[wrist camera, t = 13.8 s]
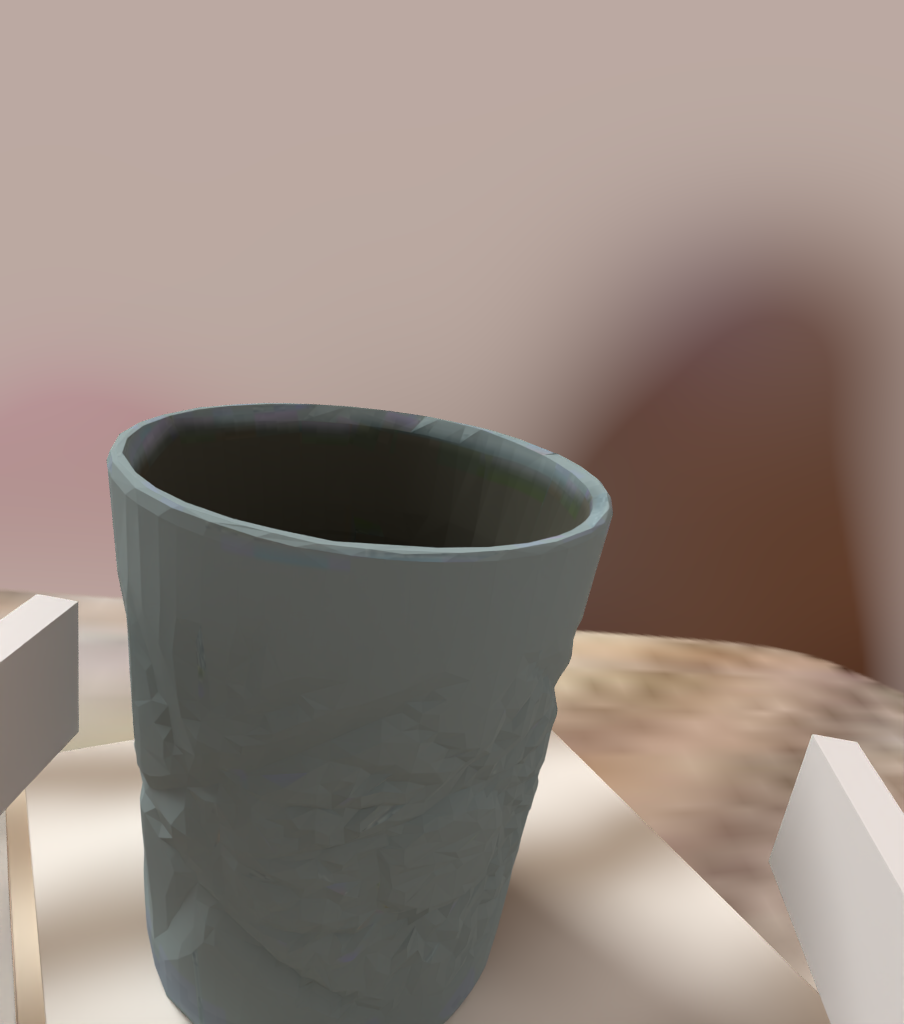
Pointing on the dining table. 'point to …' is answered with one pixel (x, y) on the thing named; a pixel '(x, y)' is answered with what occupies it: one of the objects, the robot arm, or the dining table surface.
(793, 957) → the dining table surface
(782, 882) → the robot arm
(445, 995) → the grey green cup
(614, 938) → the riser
